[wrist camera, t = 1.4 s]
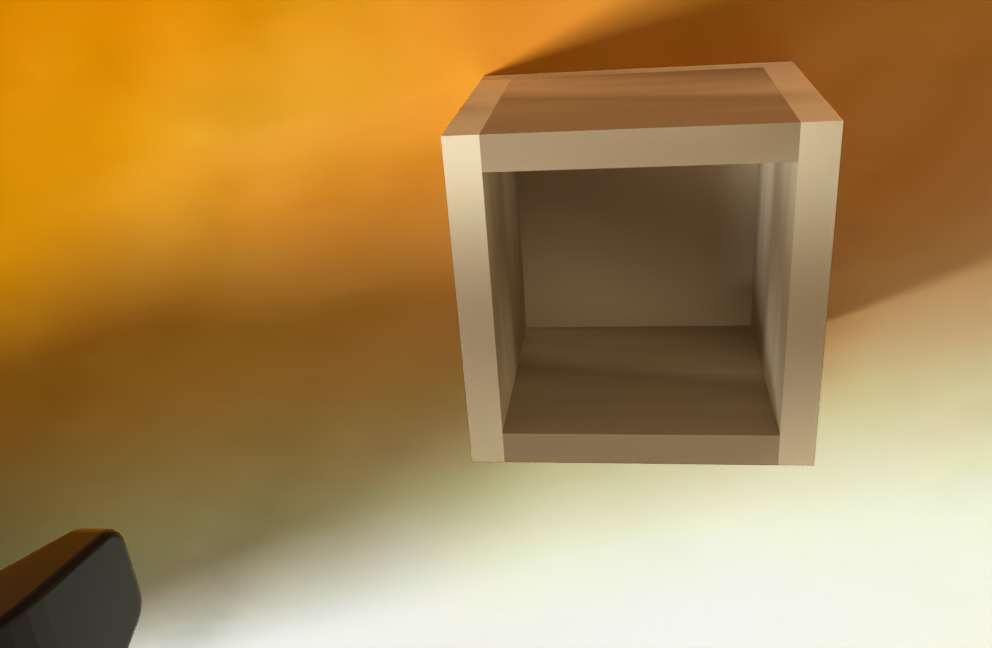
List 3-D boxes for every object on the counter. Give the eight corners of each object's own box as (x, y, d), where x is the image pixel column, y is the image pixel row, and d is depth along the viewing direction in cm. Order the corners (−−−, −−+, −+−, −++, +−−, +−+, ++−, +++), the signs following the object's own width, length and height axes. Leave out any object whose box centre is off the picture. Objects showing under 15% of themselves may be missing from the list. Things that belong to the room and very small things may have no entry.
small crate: (774, 338, 21) (813, 465, 16) (504, 339, 22) (471, 461, 17) (790, 60, 18) (843, 120, 14) (485, 74, 19) (440, 135, 15)
